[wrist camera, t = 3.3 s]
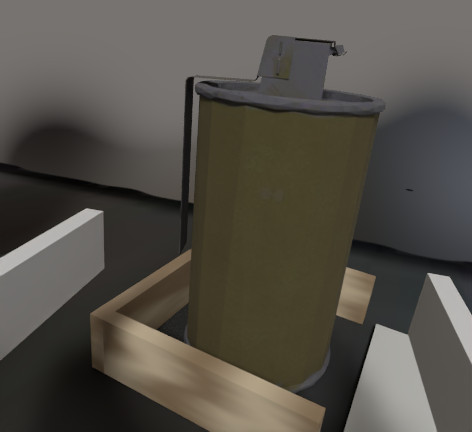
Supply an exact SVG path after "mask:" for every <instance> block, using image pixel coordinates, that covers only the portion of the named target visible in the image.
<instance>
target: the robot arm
mask: <svg viewBox="0 0 472 432" xmlns="http://www.w3.org/2000/svg"><path fill="white" fill-rule="evenodd" d="M103 269H104V232H103V211H98V210H93V209H88V208H86V209H85V210H83V211H81V212H79V213H78V214H76V215H74V216H72V217H71V218H69V219H67V220H66V221H64V222H62V223H60V224H59V225H57V226H55V227H53V228H52V229H50V230H48V231H46V232H45V233H43V234H41V235H39V236H38V237H36V238H34V239H33V240H31V241H29V242H27V243H26V244H24V245H22V246H20V247H19V248H17V249H15V250H13V251H12V252H10V253H9V252H8V253H5V254H2V255H0V360H1V359H3V358H4V357H5V356H6V355H7V354H8V353H9V352H10V351H12V350H13V349H14V348H15V347H16V346H17V345H18V344H19V343H21V342H22V341H23V340H24V339H25V338H26V337H27V336H28V335H30V334H31V333H32V332H33V331H34V330H35V329H36V328H37V327H39V326H40V325H41V324H42V323H43V322H44V321H45V320H46V319H48V318H49V317H50V316H51V315H52V314H53V313H54V312H55V311H57V310H58V309H59V308H60V307H61V306H62V305H63V304H64V303H66V302H67V301H68V300H69V299H70V298H71V297H72V296H73V295H75V294H76V293H77V292H78V291H79V290H80V289H81V288H83V287H84V286H85V285H86V284H87V283H88V282H89V281H90V280H92V279H93V278H94V277H95V276H96V275H97V274H98V273H99V272H101V271H102V270H103ZM408 336H409V339H410V342H411V346H412V349H413V353H414V356H415V359H416V363H417V366H418V369H419V373H420V376H421V379H422V383H423V386H424V389H425V393H426V396H427V399H428V403H429V406H430V409H431V413H432V416H433V420H434V423H435V426H436V430H437V432H472V315H471V313H470V312H469V310H468V308H467V306H466V305H465V303H464V301H463V300H462V298H461V296H460V294H459V293H458V291H457V289H456V287H455V286H454V284H453V282H452V281H451V279H450V277H447V276H441V275H436V274H431V273H427V276H426V279H425V282H424V285H423V288H422V292H421V295H420V298H419V301H418V304H417V307H416V310H415V313H414V316H413V319H412V322H411V325H410V328H409V331H408Z"/></svg>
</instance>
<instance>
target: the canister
mask: <svg viewBox="0 0 472 432" xmlns="http://www.w3.org/2000/svg"><path fill="white" fill-rule="evenodd" d="M295 40H298V41H295ZM304 41H309V42H304ZM315 42H320V43H315ZM333 42H334V47H332V43H333ZM327 43H331V45H330V44H327ZM335 45H336V42H335V41H327V40H316V39H305V38H295V37H287V36H275V35H272V36H270V37H268V39H267V41H266V45H265V48H264V52H263V56H262V60H261V63H260V67H259V71H258V74H257V78H258V77H259V76H262V79H261V82H260V83H254V82H252V81H255V80H248V79H236V78H223V77H210V76H192V77H188V78H187V80H186V86H185V114H184V139H183V141H184V142H183V167H182V169H183V170H182V194H181V222H180V249H179V255H180V253H181V251H182V250H183V248H184V246H185V244H186V242H187V220H188V197H189V195H188V194H189V173H190V151H191V126H192V105H193V81H194V77H199V78H212V79H224V80H236V81H202V82H198V83H197V84H196V85H195V91H196V93H197V94H198V95H200V101H199V118H198V138H197V156H196V175H195V193H194V194H195V195H194V212H193V230H192V249H191V268H190V286H189V305H188V324H187V325H186V327H185V332H184V343H185V344H187V345H189V346H191V347H194V348H196V349H198V350H200V351H202V352H205V353H207V354H209V355H211V356H213V357H215V358H218V359H220V360H222V361H224V362H226V363H228V364H231V365H233V366H235V367H237V368H239V369H241V370H244V371H246V372H248V373H250V374H252V375H254V376H257V377H259V378H261V379H263V380H265V381H267V382H270V383H272V384H274V385H276V386H278V387H280V388H283V389H285V390H287V391H289V392H291V393H294V394H295V393H297V392H299V391H302V390H304V389H306V388H309V387H311V386H313V385H314V384H315V383H316V382H317V381H318V380H319V379H320V378H321V377H322V376H323V374H324V372H325V370H326V368H327V366H328V364H329V361H330V354H331V352H330V340H331V336H332V331H333V327H334V322H335V317H336V313H337V308H338V303H339V299H340V294H341V290H342V285H343V280H344V276H345V271H346V266H347V262H348V257H349V253H350V248H351V243H352V239H353V234H354V229H355V225H356V220H357V215H358V211H359V206H360V201H361V197H362V192H363V188H364V183H365V178H366V174H367V169H368V165H369V160H370V155H371V150H372V146H373V141H374V137H375V132H376V127H377V123H378V118H379V114H380V112H382V111H383V110H384V109H385V104H386V103H385V102H384V101H383V100H382V99H378V98H374V97H369V96H365V95H361V94H354V93H347V92H341V91H334V90H326V89H323V87H324V81H325V75H326V68H327V62H328V56H329V55H331V54H332V55H333V56H335V55H337V56H340V55H338V54H340V53H341V54H342V53H343V52H344V49H343V45H338V46H335ZM345 53H346V52H345ZM343 55H344V54H343ZM257 78H256V80H257ZM240 81H249V82H240Z"/></svg>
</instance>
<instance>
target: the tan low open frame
mask: <svg viewBox="0 0 472 432" xmlns="http://www.w3.org/2000/svg"><path fill="white" fill-rule="evenodd" d="M190 268H191V249H190V250H188V251H187V252H185V253H184V254H182V255H181V256H179V257H178V258H176V259H174V260H173V261H171V262H170V263H168V264H167V265H165V266H164V267H162V268H160V269H159V270H157V271H156V272H154V273H153V274H151V275H150V276H148V277H146V278H145V279H143V280H142V281H140V282H139V283H137V284H136V285H134V286H132V287H131V288H129V289H128V290H126V291H125V292H123V293H122V294H120V295H118V296H117V297H115V298H114V299H112V300H111V301H109V302H108V303H106V304H104V305H103V306H101V307H100V308H98V309H97V310H95V311H94V312H92V313H90V323H91V350H92V367H93V368H95V369H97V370H99V371H101V372H103V373H104V374H106V375H108V376H110V377H112V378H113V379H115V380H117V381H119V382H121V383H123V384H124V385H126V386H128V387H130V388H132V389H133V390H135V391H137V392H139V393H141V394H143V395H144V396H146V397H148V398H150V399H152V400H154V401H155V402H157V403H159V404H161V405H163V406H164V407H166V408H168V409H170V410H172V411H174V412H175V413H177V414H179V415H181V416H183V417H184V418H186V419H188V420H190V421H192V422H194V423H195V424H197V425H199V426H201V427H203V428H204V429H206V430H208V431H210V432H320V429H321V425H322V421H323V417H324V413H325V409H326V408H324V407H322V406H320V405H317V404H315V403H313V402H311V401H309V400H307V399H304V398H302V397H300V396H298V395H296V394H294V393H291V392H289V391H287V390H285V389H283V388H280V387H278V386H276V385H274V384H272V383H270V382H267V381H265V380H263V379H261V378H259V377H257V376H254V375H252V374H250V373H248V372H246V371H244V370H241V369H239V368H237V367H235V366H233V365H231V364H228V363H226V362H224V361H222V360H220V359H218V358H215V357H213V356H211V355H209V354H207V353H205V352H202V351H200V350H198V349H196V348H194V347H191V346H189V345H187V344H185V343H183V342H181V341H178V340H176V339H174V338H172V337H170V336H168V335H165V334H163V333H161V332H159V331H157V330H156V329H158V328H159V327H160V326H161V325H162V324H163V323H165V322H166V321H167V320H168V319H169V318H171V317H172V316H173V315H174V314H175V313H177V312H178V311H179V310H180V309H181V308H182V307H184V306H185V305H186V304H187V303H188V302H189V286H190ZM375 278H376V276H373V275H369V274H366V273H363V272H360V271H357V270H353V269H350V268H347V267H346V271H345V276H344V280H343V285H342V290H341V294H340V299H339V303H338V308H337V313H336V315H337V316H340V317H343V318H346V319H348V320H351V321H354V322H357V323H359V324H363V321H364V318H365V315H366V311H367V308H368V304H369V300H370V297H371V293H372V289H373V285H374V282H375Z"/></svg>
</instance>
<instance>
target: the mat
mask: <svg viewBox="0 0 472 432" xmlns="http://www.w3.org/2000/svg"><path fill="white" fill-rule="evenodd" d="M344 432H437V430H436V426H435V423H434V420H433V416H432V413H431V409H430V406H429V403H428V399H427V396H426V393H425V389H424V386H423V383H422V379H421V376H420V373H419V369H418V366H417V363H416V359H415V356H414V353H413V349H412V346H411V342H410V339H409V336H408V335H406V334H403V333H400V332H398V331H395V330H392V329H389V328H386V327H384V326H381V325H378V324H376V327H375V330H374V334H373V337H372V340H371V343H370V347H369V350H368V353H367V357H366V360H365V363H364V367H363V370H362V373H361V376H360V380H359V383H358V386H357V390H356V393H355V396H354V399H353V403H352V406H351V409H350V413H349V416H348V419H347V422H346V426H345V429H344Z"/></svg>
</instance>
